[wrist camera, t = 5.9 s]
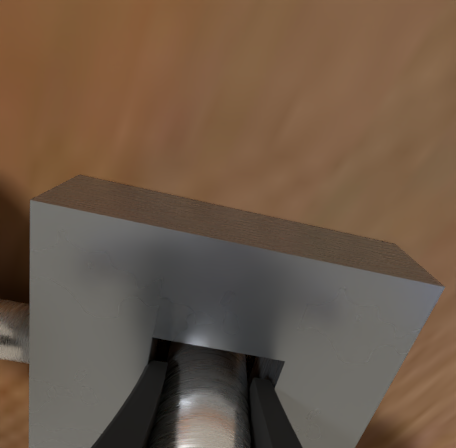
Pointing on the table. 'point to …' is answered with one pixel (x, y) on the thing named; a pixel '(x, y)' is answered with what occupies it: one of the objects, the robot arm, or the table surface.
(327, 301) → the square hole block
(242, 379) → the metal cylinder
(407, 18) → the table surface
